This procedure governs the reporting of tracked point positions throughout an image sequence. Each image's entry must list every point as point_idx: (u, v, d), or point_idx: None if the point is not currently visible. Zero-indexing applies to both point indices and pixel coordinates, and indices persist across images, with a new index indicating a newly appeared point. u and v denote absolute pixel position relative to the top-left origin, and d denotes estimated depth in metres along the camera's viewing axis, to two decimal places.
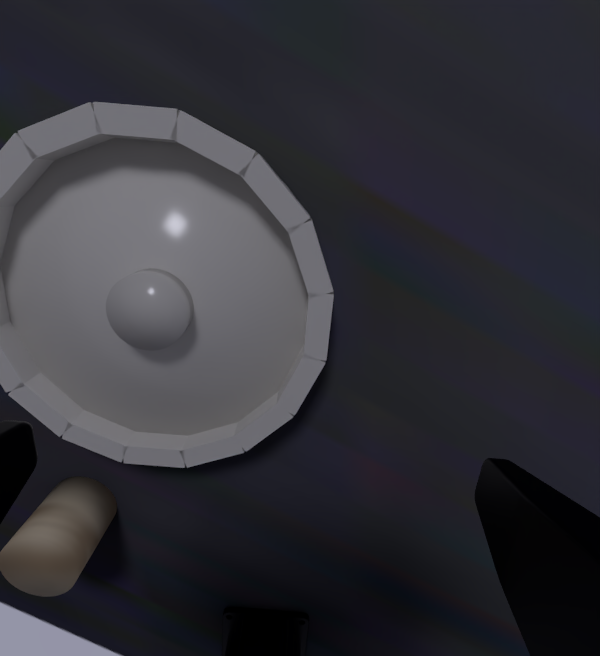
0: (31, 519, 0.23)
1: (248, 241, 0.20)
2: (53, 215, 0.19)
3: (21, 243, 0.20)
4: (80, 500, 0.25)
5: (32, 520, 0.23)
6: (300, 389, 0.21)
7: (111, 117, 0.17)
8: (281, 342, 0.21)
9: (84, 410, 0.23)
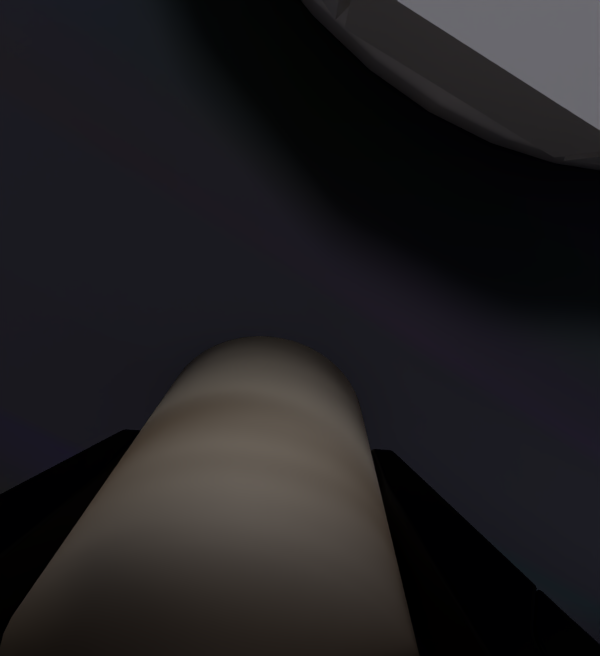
0: (153, 448, 0.05)
1: None
2: None
3: None
4: (314, 393, 0.06)
5: (165, 451, 0.05)
6: None
7: None
8: None
9: None
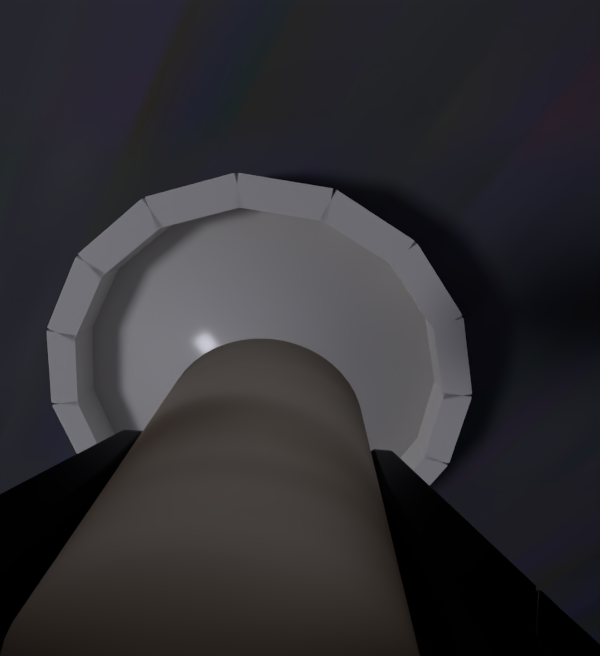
0: (154, 452, 0.05)
1: (187, 274, 0.17)
2: None
3: None
4: (314, 395, 0.06)
5: (166, 455, 0.05)
6: (374, 229, 0.15)
7: (62, 390, 0.18)
8: (315, 248, 0.17)
9: None
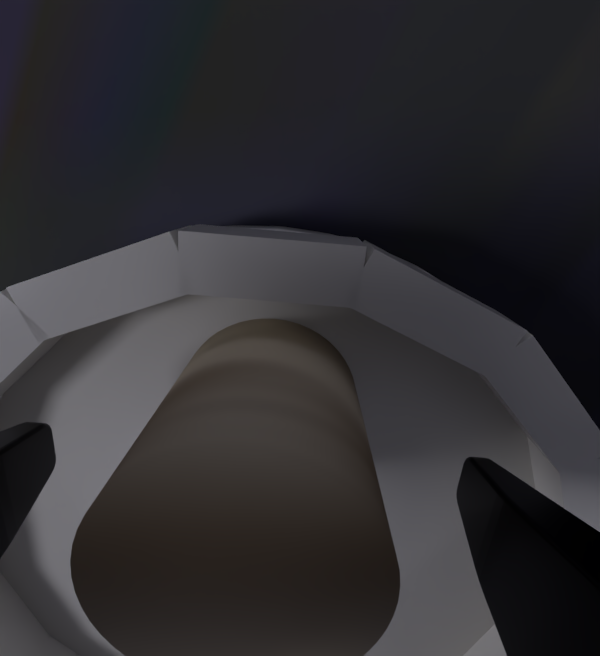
0: (184, 399, 0.06)
1: (118, 394, 0.10)
2: None
3: None
4: (313, 362, 0.08)
5: (195, 400, 0.06)
6: (449, 315, 0.08)
7: None
8: (334, 340, 0.09)
9: None
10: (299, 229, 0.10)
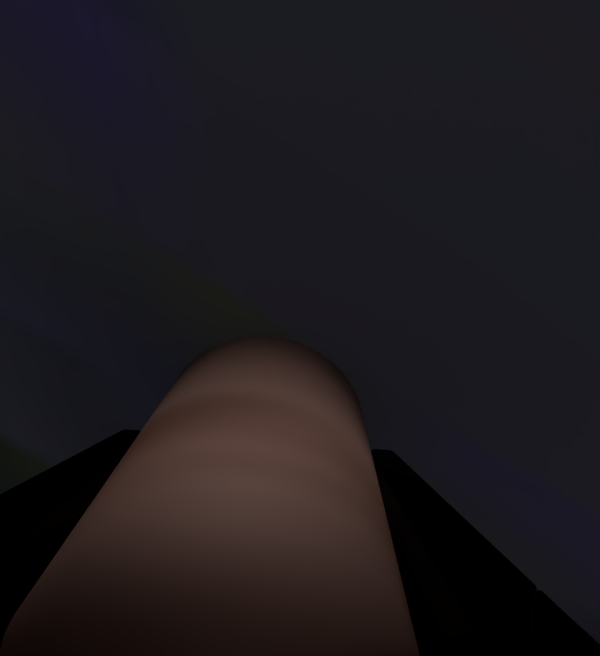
0: None
1: None
2: None
3: None
4: None
5: None
6: None
7: None
8: None
9: None
10: None
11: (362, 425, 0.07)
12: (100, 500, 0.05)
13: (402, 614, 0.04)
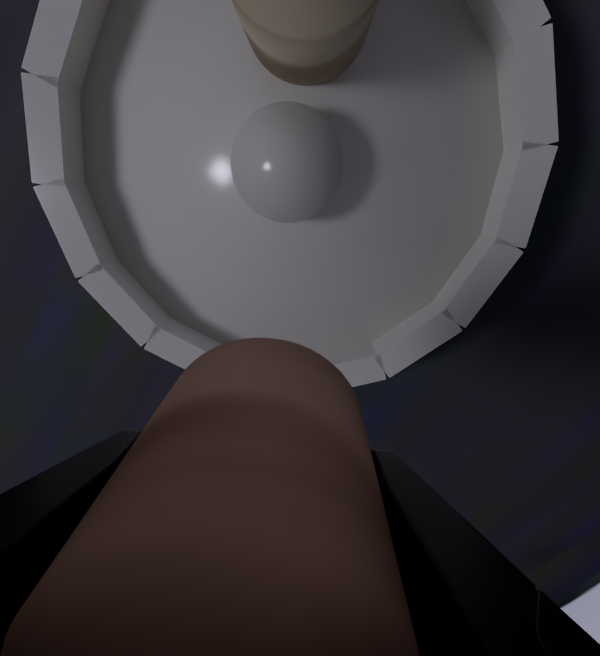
0: None
1: (196, 3, 0.14)
2: (177, 276, 0.17)
3: (210, 320, 0.17)
4: None
5: None
6: None
7: (45, 163, 0.14)
8: None
9: (434, 300, 0.17)
10: None
11: (362, 426, 0.07)
12: (101, 502, 0.05)
13: (402, 616, 0.04)
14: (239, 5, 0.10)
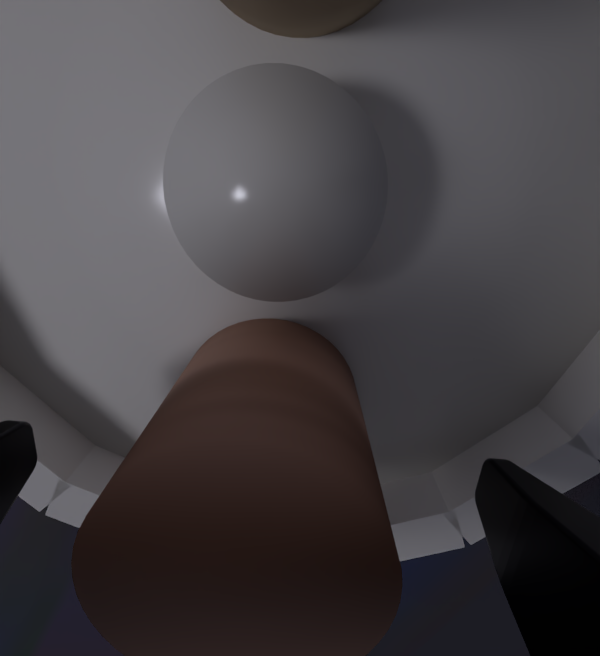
0: None
1: None
2: (99, 383, 0.10)
3: None
4: None
5: None
6: None
7: None
8: None
9: (539, 406, 0.10)
10: None
11: (355, 392, 0.08)
12: (145, 437, 0.06)
13: (383, 516, 0.05)
14: None
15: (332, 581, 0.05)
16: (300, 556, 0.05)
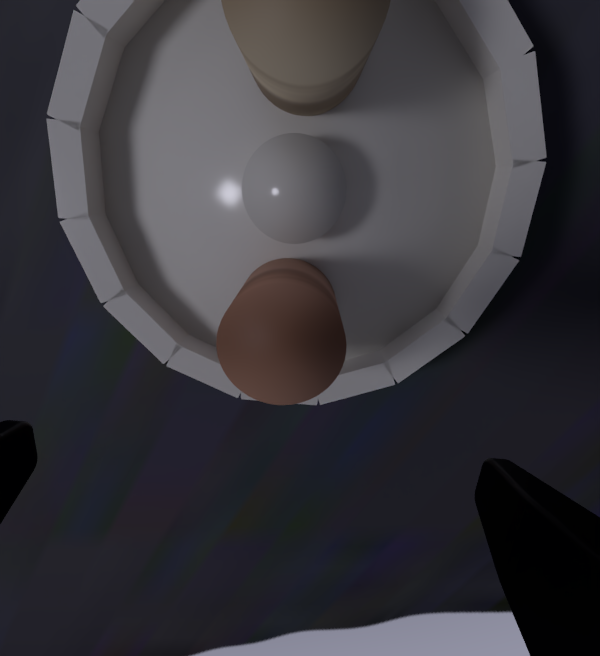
0: None
1: (203, 46, 0.15)
2: (194, 296, 0.18)
3: None
4: None
5: None
6: None
7: (70, 199, 0.15)
8: None
9: (436, 308, 0.18)
10: None
11: (333, 292, 0.16)
12: (241, 291, 0.14)
13: (338, 315, 0.13)
14: (249, 59, 0.11)
15: (319, 343, 0.13)
16: (306, 330, 0.13)
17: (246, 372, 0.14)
